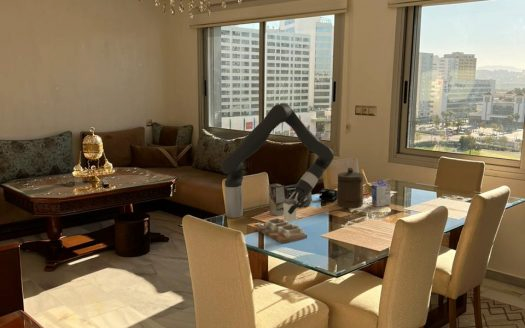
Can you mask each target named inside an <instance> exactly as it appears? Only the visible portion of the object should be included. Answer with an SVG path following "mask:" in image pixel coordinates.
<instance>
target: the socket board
mask: <svg viewBox="0 0 525 328" xmlns="http://www.w3.org/2000/svg"><path fill="white" fill-rule="evenodd" d="M264 223H265V224H264V225H261V226H256V228H255V230H256V231H258V232H260V233H261V234H263V235H265V236H267V237H269V238H271V239H273V240H275V241H276V242H278V243H280V244H286V243H291V242H296V241H299V240H303V239H307V238H308V235H307V234H306V233H304V232H303V227H301V226H299V225H296V224H294V223H290V224H289V222H288V221H286V220H284V218H281V217H277V218H272V219H267V220H265V221H264Z"/></svg>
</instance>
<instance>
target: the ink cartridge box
mask: <svg viewBox="0 0 525 328" xmlns="http://www.w3.org/2000/svg"><path fill="white" fill-rule="evenodd" d="M391 188H392V187H391V184H390V183H387V182H384V180H383V179H379V180H377V183H376V184H371V205H372V206H374V207H376V208H378V207H383V206H391V193H392V192H391Z"/></svg>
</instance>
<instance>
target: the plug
mask: <svg viewBox="0 0 525 328" xmlns="http://www.w3.org/2000/svg"><path fill="white" fill-rule="evenodd" d="M294 202H295V200H294V199H292V198H291V199H290V198H289V199H284V200H283V207H284V215H283V220H285V221H288V223H291V222H295V221H298V220H297V208H296V209H295V210H294V212H293V213H292V214H290V213H288V210H289V209H290V208H291V206H293V203H294Z"/></svg>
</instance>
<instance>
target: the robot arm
mask: <svg viewBox="0 0 525 328" xmlns="http://www.w3.org/2000/svg"><path fill="white" fill-rule="evenodd" d="M282 123H286V124H287V126H289V127H290V128H291V129H292V130H293V132H295V135H296V136H297V138H298V140H299V141H300V143H301V144H302V145H303V146H305V147H306V149H307V150H308V151H309V152H311V153H312V152H313V153H314V154H315V155H316V156H317V158H316V159H315V161H314V162H313V163H312V164H311V165H310V166H309V168H308V169H307V170H306V172H305V173H303V175H302V177H301V178H300V179H299V181H297V183H296V185H295V189H294V190H293V191H292V190H289V191H288V192H287V195H286V199H289V198H290V199H291V198H292V199H294V200H295V202H294V203H293V206H291V208H290V209H289V210H288V213H290V214H292V213H293V212H294V210H295V209H296V210H297V209H301V208H302V205H304V204H305V203H306V202H307V201H308V199H307V198H306V195H309V193H310V192H311V193H312V191H313V189H314V188H315V187H316V185H317V184H318V181H319V180H320V178H321V177H322V175H323V174H324V172H325V171H326V170H327V169H328V168H329V167H330V165H331V163H332V162H333V160H334V157H335V155H334V154H335V153H334V152H333V150H332V149H331V148H330V147H329V146H328V145H326V144H325V143H324V142H322V141H320V139H319V138H318V137H317V136H316V135H315V134H313V132H312V131H311V130H309V128H308V127H307V126H306V125H305V124H304V123H303V121H302V120H301V118H299V116H298V115H297V114H296V112H295V110H294V109H292V106H290V105H289V104H287V103H279V104H275V105H274V106H273V107H271V108H270V109H269V111H268V113H267V114H266V116H265V117H264V118H263V119H262V120H261V121H260V123H258V124H257V125H256V126H255V127H254V128H253V129H252V130H251V131H250V132H249V134H248V135H247V136H246V137H245V138H244V139H243V140H242V141H241V142H240V143H239V145H238V146H237V147H236V148H235V149H234V150H233V151H232V152H231V153H230V154H229V155H228V156H226V157H225V158H224V159H223V160H222V161H221V165H220V169H221V172H222V173H223V174H225V175H227V177H226V178H225V180H224V195H225V196H224V197H225V199H224V200H225V202H224V203H225V216H226V217H227V218H230V219H237V218H241V217H243V216H244V215H243V214H244V213H243V212H244V211H243V209H244V208H243V190H242V189H243V185H242V182H243V179H244V163H243V161H245V160H246V159H247V158H249V157H251V156H252V155H254V154H255V153H256V152H257V151H258V150H259V149H260V148H261V147H263V145H264V144H265V143H266V142H267V140H268V139H269V136H270V134H271V133H272V132H273V131H274V130H275V129H276V128H277V127H278V126H279V125H281V124H282ZM300 203H301V204H300ZM299 204H300V205H299ZM282 210H283V211H284V207H283V208H282Z"/></svg>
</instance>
